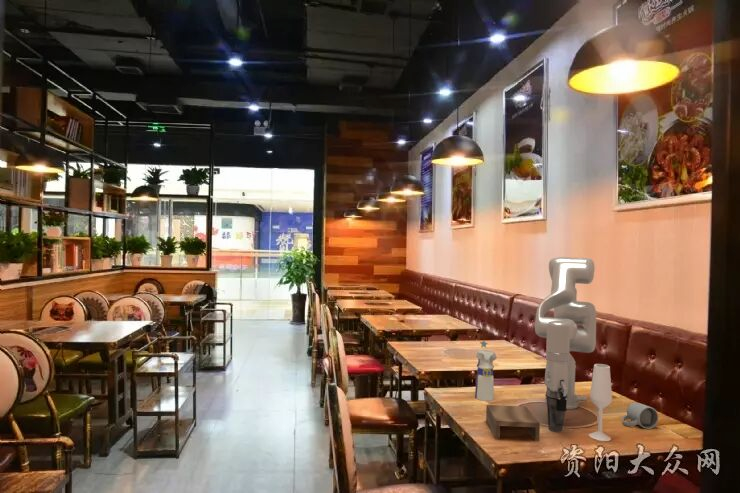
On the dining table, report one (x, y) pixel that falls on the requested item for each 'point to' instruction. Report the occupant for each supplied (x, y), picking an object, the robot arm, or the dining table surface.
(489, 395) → the water bottle
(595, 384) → the champagne flute
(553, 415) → the beverage cup
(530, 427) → the walnut shelf
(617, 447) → the dining table surface
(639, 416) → the ceramic mug
